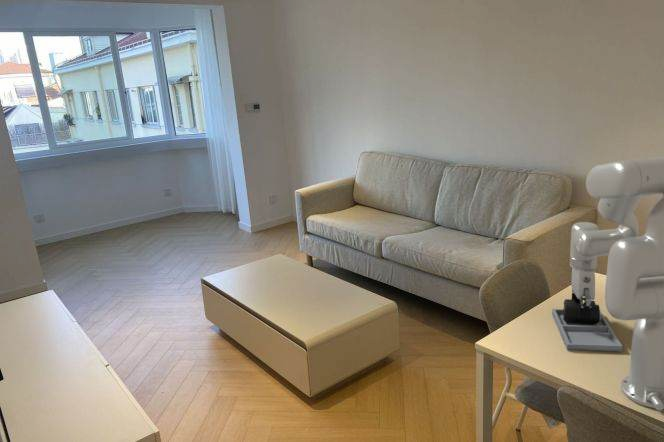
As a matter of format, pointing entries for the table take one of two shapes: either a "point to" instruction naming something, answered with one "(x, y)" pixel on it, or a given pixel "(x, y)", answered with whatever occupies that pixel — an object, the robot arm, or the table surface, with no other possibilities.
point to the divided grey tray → (587, 334)
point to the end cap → (573, 312)
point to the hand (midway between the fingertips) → (580, 311)
